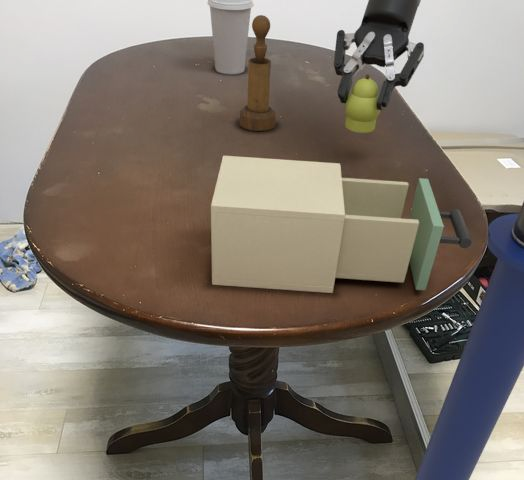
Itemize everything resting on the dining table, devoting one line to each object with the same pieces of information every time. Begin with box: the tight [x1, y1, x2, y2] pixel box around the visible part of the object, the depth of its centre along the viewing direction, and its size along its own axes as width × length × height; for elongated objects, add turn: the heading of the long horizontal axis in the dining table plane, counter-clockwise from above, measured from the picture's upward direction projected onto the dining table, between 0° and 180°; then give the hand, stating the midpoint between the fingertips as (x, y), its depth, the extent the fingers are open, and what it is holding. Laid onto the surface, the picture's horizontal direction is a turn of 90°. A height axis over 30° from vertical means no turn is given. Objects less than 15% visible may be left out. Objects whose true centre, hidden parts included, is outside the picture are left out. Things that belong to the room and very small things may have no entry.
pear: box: [344, 74, 381, 134], centre depth 92 cm, size 6×6×8 cm
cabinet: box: [210, 155, 345, 294], centre depth 73 cm, size 15×13×11 cm
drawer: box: [335, 177, 473, 291], centre depth 73 cm, size 18×12×9 cm, turn 87°
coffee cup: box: [207, 0, 254, 75], centre depth 126 cm, size 10×10×15 cm
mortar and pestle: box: [239, 14, 277, 132], centre depth 103 cm, size 7×6×18 cm
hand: (360, 103), depth 90 cm, fingers closed on pear, 5 cm apart
